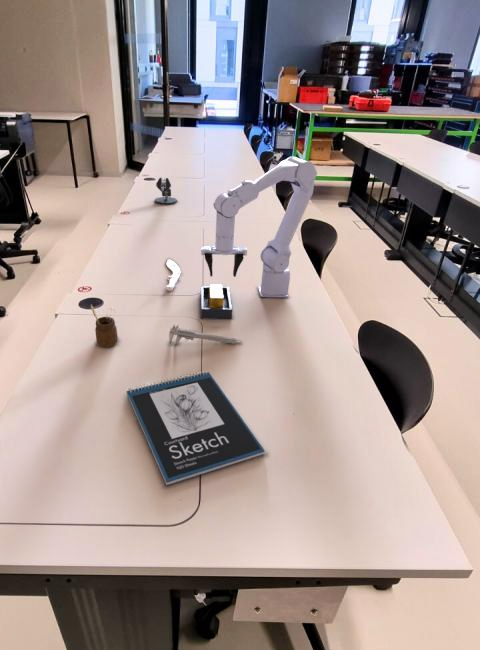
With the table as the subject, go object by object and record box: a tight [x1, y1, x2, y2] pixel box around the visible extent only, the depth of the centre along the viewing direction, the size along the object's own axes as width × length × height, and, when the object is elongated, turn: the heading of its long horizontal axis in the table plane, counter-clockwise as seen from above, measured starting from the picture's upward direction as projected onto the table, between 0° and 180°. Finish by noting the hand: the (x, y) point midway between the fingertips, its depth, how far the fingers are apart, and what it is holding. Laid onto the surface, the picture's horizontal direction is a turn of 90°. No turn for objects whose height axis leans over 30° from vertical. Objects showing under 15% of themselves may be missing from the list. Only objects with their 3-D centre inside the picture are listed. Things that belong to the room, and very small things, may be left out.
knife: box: [163, 258, 182, 292], centre depth 165 cm, size 30×2×8 cm
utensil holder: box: [90, 304, 119, 348], centre depth 122 cm, size 6×6×12 cm
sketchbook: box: [126, 370, 266, 486], centre depth 98 cm, size 22×30×2 cm
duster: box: [208, 284, 224, 308], centre depth 144 cm, size 5×11×5 cm, turn 1°
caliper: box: [168, 324, 241, 345], centre depth 125 cm, size 20×1×6 cm, turn 94°
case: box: [200, 285, 233, 320], centre depth 144 cm, size 10×17×3 cm, turn 2°
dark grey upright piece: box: [154, 176, 178, 206], centre depth 242 cm, size 13×20×13 cm, turn 1°
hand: (222, 275), depth 144 cm, fingers open, 7 cm apart
